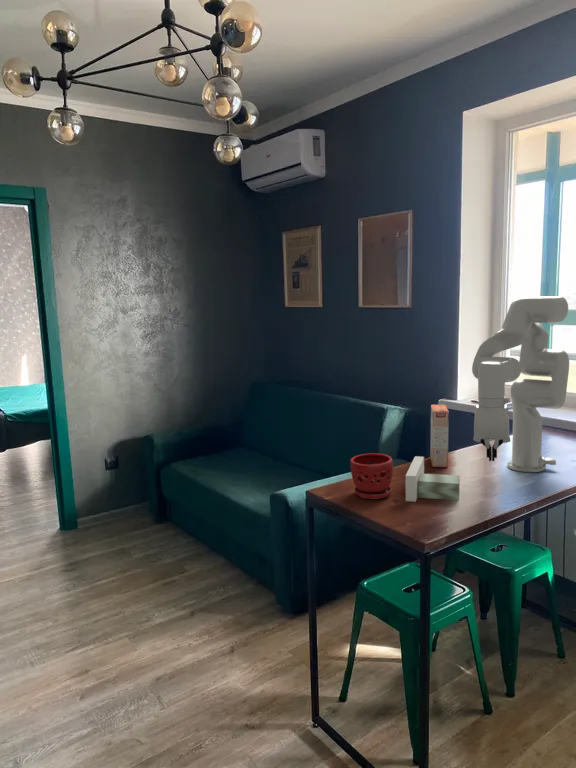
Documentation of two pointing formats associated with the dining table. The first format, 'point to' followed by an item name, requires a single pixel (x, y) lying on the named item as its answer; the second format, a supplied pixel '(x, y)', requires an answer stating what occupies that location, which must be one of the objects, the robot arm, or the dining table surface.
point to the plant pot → (372, 475)
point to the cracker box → (439, 435)
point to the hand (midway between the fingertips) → (491, 459)
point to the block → (438, 486)
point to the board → (414, 478)
